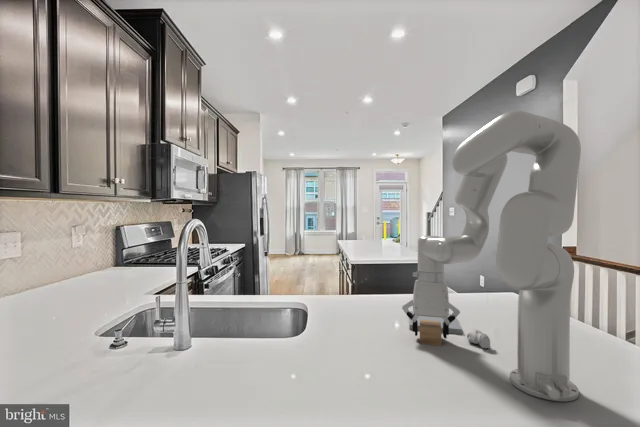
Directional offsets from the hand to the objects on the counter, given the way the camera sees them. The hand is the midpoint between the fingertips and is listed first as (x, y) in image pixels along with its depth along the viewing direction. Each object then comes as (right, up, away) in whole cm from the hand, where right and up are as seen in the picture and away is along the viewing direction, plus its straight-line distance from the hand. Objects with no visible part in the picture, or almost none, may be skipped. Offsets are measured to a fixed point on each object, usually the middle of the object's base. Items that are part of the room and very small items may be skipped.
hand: (430, 335), depth 100 cm
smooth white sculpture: (+13, -2, -3) cm, 13 cm away
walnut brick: (0, -2, 0) cm, 2 cm away
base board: (+6, -1, +15) cm, 16 cm away
